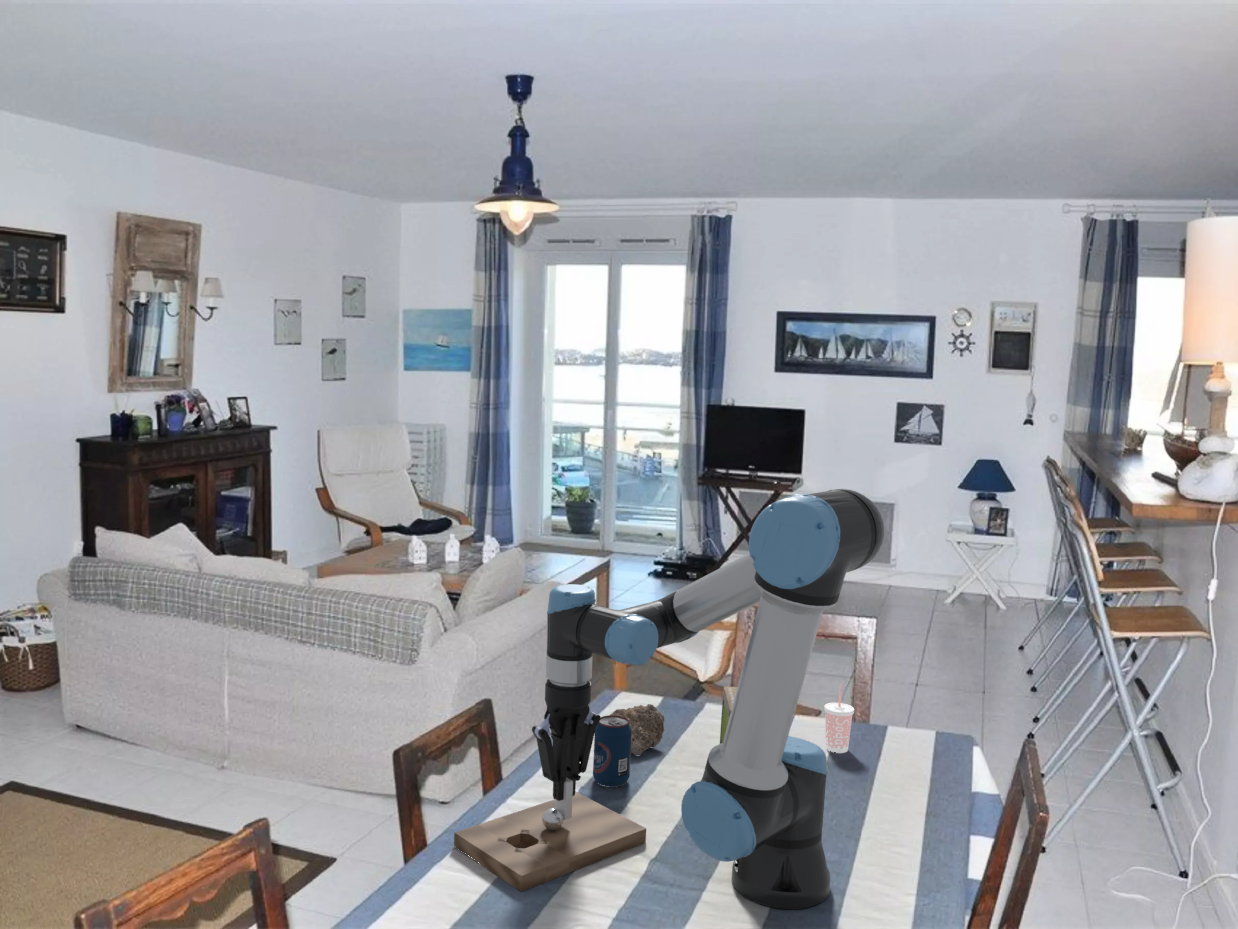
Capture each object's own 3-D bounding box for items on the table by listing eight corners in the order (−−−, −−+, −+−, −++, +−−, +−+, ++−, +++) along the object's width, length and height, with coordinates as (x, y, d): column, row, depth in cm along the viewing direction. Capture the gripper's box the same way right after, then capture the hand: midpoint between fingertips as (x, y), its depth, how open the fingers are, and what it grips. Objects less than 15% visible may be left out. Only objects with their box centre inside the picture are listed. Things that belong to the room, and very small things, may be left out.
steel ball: (554, 812, 176) (547, 833, 176) (570, 814, 178) (563, 834, 178) (541, 804, 179) (535, 824, 178) (558, 805, 181) (551, 825, 181)
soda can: (585, 779, 205) (587, 718, 204) (614, 771, 210) (617, 711, 208) (607, 792, 200) (609, 729, 198) (636, 784, 204) (639, 722, 203)
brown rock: (623, 764, 214) (609, 715, 215) (602, 764, 222) (588, 717, 223) (679, 741, 221) (665, 694, 222) (657, 742, 229) (644, 696, 230)
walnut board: (645, 842, 181) (646, 828, 180) (521, 891, 163) (521, 876, 163) (576, 805, 194) (576, 792, 193) (453, 847, 176) (454, 832, 176)
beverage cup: (820, 752, 224) (824, 686, 222) (823, 741, 230) (827, 677, 228) (850, 756, 222) (854, 690, 221) (852, 746, 228) (857, 681, 226)
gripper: (584, 666, 184) (579, 798, 187) (522, 680, 176) (518, 818, 179) (613, 678, 179) (607, 814, 182) (551, 693, 170) (546, 835, 173)
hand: (563, 816), depth 180 cm, fingers closed
